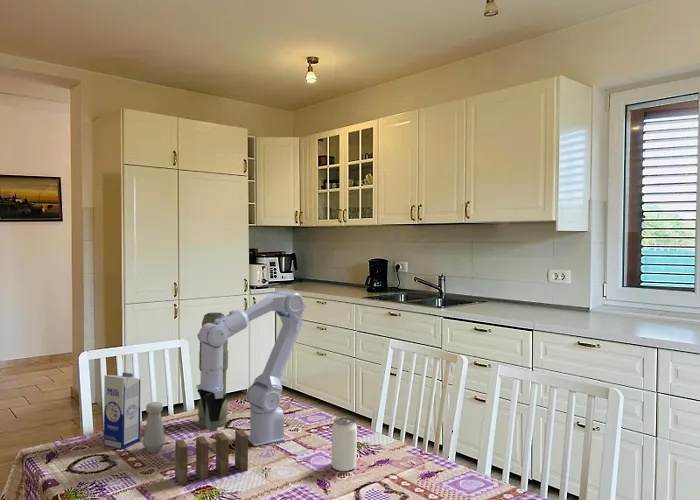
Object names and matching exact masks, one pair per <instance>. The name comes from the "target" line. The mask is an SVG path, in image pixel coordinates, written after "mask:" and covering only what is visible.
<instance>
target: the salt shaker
mask: <svg viewBox="0 0 700 500" xmlns="http://www.w3.org/2000/svg"><path fill="white" fill-rule="evenodd" d="M145 407H146V408H145V411H146V413H147V419H146V424H145V429H144V430H145V431H144V433H143V434H144V435H143V439H142V446H143V448H144V449H145V451H146V453H149V454H150V453H151V454H154V453H158V452H161V451H162V449H163V447H164V445H165V442H166V438H165V437H166V436H165V432H164V425H163V420H162V419H163V418H162V414H161V413H162V411H163V408H164V406H163V403H161V402H160V401H152V402H149V403H147V404H146V406H145Z"/></svg>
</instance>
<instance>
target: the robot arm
mask: <svg viewBox="0 0 700 500" xmlns="http://www.w3.org/2000/svg"><path fill="white" fill-rule="evenodd" d="M306 306H307V305H306V302H305V300H304V298H303V296H302V294H300V293H298V292H289V291H283V290H280V289H279V290H277V291H275V292H272V293H269V294H268V295H267V296H266V297H264V298H263V299H261V300H259V301H258V302H256V303H255V304H253V305H251V306H249V307H248V308H246V309H245V310H243V311H241V310H239V309H238V310H234V309H231V310H229V311H228V314H226V315H224V317H223V318H221V319H216V320H215V322H214V323H207V324H205V325H203V326H202V325H201V328H199V332H198V333H197V339H198V341H199V343H200V342H201V344H202V346H201V372H200V384H196V387H195V388H196V389H197V390H196V391H197V393H198V394H199V397H201V401H202V405H203V410H204V414H205V416H206V403H207V406H208V413H209V419H210V422H213V421H218V419H219V416H220V412H221V408H222V405H223V403H224V401H225V399H227V394H226V395H225V394H223V345H224V344H225V342H226V341H227V338H228V339H229V338H231V337H233V336H234V335H236V334H238V333H240V332H241V331H243V330H245V329H247V327H248V325H249V322H251V321H253V320H255V319H257V318H260V317H261V316H263V315H265V314H268V313H270V312H275V313H276V314H277V316H278V317H279V318H280V321H281V322H282V325H281V327H280V328H281V329H280V330H279V333H278V335H277V337H276V340H275V343H274V346H273V347H272V349H271V352H270V355H269V357H268V359H267V361H266V364H265V366H264V369H263V371H262V373H261V374H259V375H258V376H257V377H255V379H254V380H253V383H252V384H250V386H249V387H248V388H247V390H246V393H245V394H246V395H245V397H246V400H247V401H246V402H248V404H249V408H250V412H249V413H250V414H249V415H250V417H249V418H250V421H249V423H250V424H249V428H250V429H249V434H247V435H248V442H249V443H251V444H252V446H253V447H257V446H263V445H268V444H273V443H274V444H275V443H277V442H283V441H285V440H286V438H285V415H284V410H283V409H282V407H280V403H281V395H282V391H283V386H282V383H281V381H280V380H281V378H282V375H283V373H284V370H285V367H286V365H287V363H288V360H289V358H290V356H291V353H292V351H293V349H294V346H295V344H296V341H297V339H298V336H299V334H300V331H301V330H302V325H303V315H304V314H303V313H304V312H305V309H306ZM208 393H211V395H206V394H208Z"/></svg>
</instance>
